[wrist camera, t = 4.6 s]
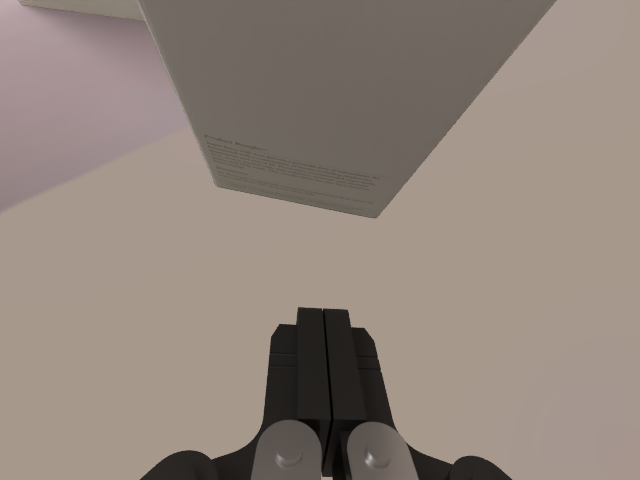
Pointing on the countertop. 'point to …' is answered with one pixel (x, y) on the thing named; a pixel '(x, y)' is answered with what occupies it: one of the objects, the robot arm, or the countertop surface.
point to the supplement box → (330, 87)
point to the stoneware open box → (92, 7)
